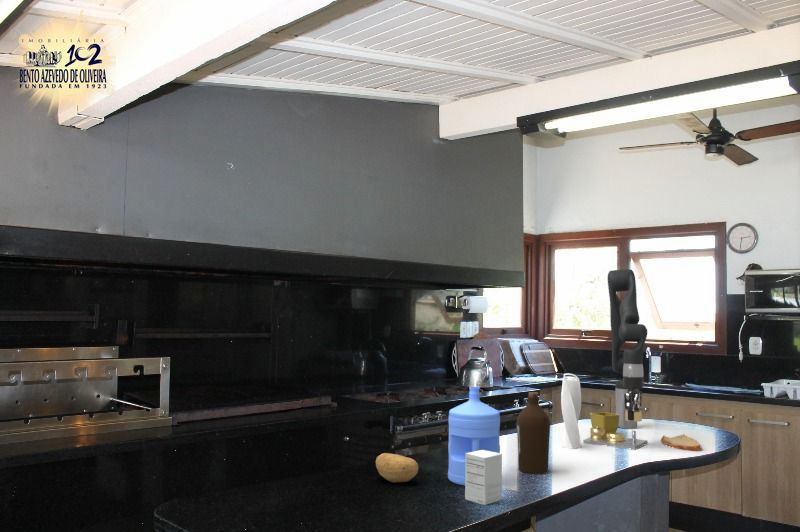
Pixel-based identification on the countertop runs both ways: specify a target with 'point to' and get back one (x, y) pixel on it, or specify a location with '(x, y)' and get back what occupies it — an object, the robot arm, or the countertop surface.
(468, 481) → the supplement box
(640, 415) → the gold octagonal ring
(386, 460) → the potato
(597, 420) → the flower pot
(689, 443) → the slice of bread
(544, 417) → the olive oil
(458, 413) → the water jug
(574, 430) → the skyscraper
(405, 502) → the countertop surface
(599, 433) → the carrier
